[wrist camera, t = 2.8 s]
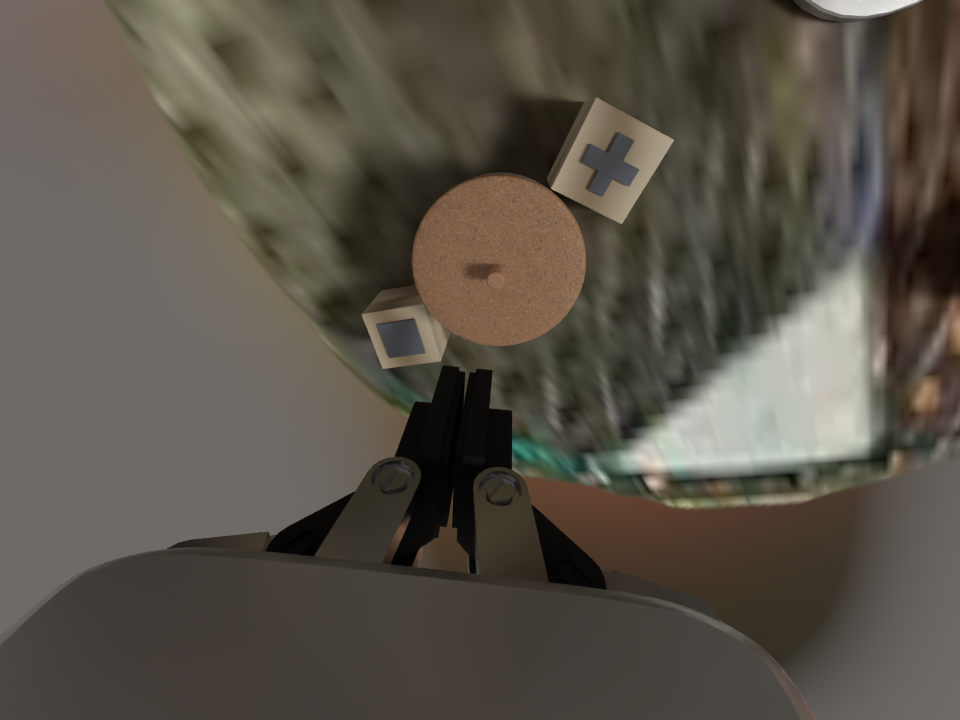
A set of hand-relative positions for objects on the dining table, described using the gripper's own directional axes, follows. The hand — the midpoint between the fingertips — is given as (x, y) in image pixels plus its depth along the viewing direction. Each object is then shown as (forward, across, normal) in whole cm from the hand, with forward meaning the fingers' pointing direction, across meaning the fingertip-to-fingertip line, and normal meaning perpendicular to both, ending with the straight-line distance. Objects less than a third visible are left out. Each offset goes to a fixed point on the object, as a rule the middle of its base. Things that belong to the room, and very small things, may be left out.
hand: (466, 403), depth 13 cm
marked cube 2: (+20, -7, -7) cm, 22 cm away
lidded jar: (+20, -1, -1) cm, 21 cm away
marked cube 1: (+21, +6, +6) cm, 22 cm away
